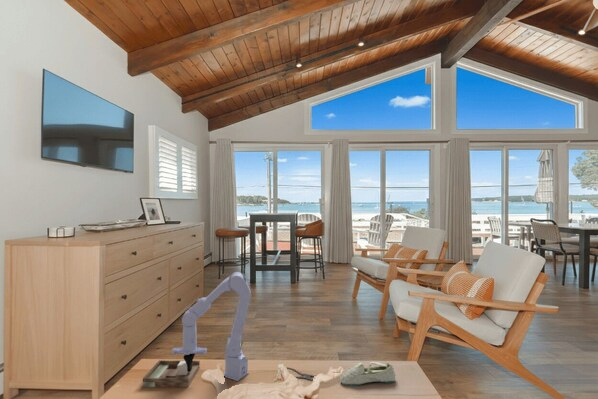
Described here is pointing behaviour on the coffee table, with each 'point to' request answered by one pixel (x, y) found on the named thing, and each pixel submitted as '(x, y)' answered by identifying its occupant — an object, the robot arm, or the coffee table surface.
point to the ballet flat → (368, 374)
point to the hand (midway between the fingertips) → (189, 370)
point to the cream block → (182, 368)
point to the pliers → (303, 375)
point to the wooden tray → (169, 374)
